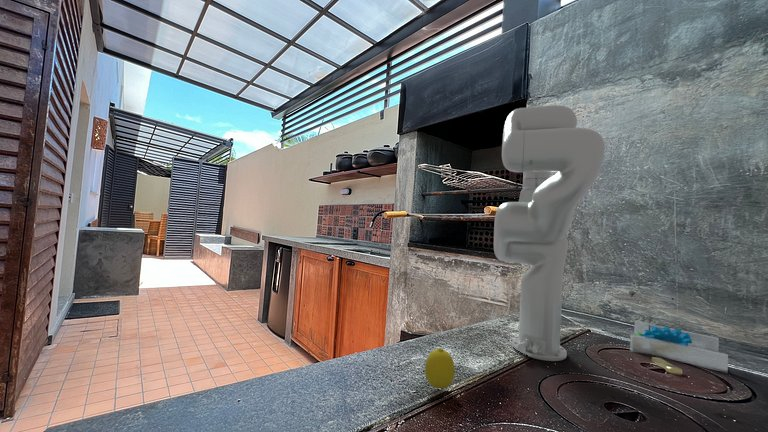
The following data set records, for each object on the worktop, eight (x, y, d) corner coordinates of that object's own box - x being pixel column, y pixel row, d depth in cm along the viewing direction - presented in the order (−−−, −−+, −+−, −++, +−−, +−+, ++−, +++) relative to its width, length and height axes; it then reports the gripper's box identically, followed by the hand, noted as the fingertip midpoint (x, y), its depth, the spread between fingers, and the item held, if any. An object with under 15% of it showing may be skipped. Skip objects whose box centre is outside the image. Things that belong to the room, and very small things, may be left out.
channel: (728, 375, 70) (729, 358, 70) (629, 350, 82) (630, 335, 82) (717, 350, 85) (717, 336, 85) (634, 332, 96) (634, 319, 96)
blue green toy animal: (689, 346, 82) (692, 326, 77) (696, 368, 78) (699, 349, 73) (636, 341, 89) (635, 322, 83) (640, 361, 85) (639, 343, 80)
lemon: (433, 379, 62) (435, 340, 63) (458, 390, 59) (460, 348, 59) (418, 390, 58) (420, 348, 58) (444, 402, 55) (446, 357, 55)
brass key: (685, 375, 69) (685, 371, 69) (672, 374, 69) (672, 370, 69) (661, 361, 76) (662, 357, 76) (649, 360, 76) (649, 356, 76)
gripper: (565, 185, 97) (562, 243, 97) (516, 187, 108) (514, 239, 107) (559, 182, 92) (556, 244, 92) (508, 185, 102) (506, 240, 102)
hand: (533, 241), depth 100 cm, fingers closed
